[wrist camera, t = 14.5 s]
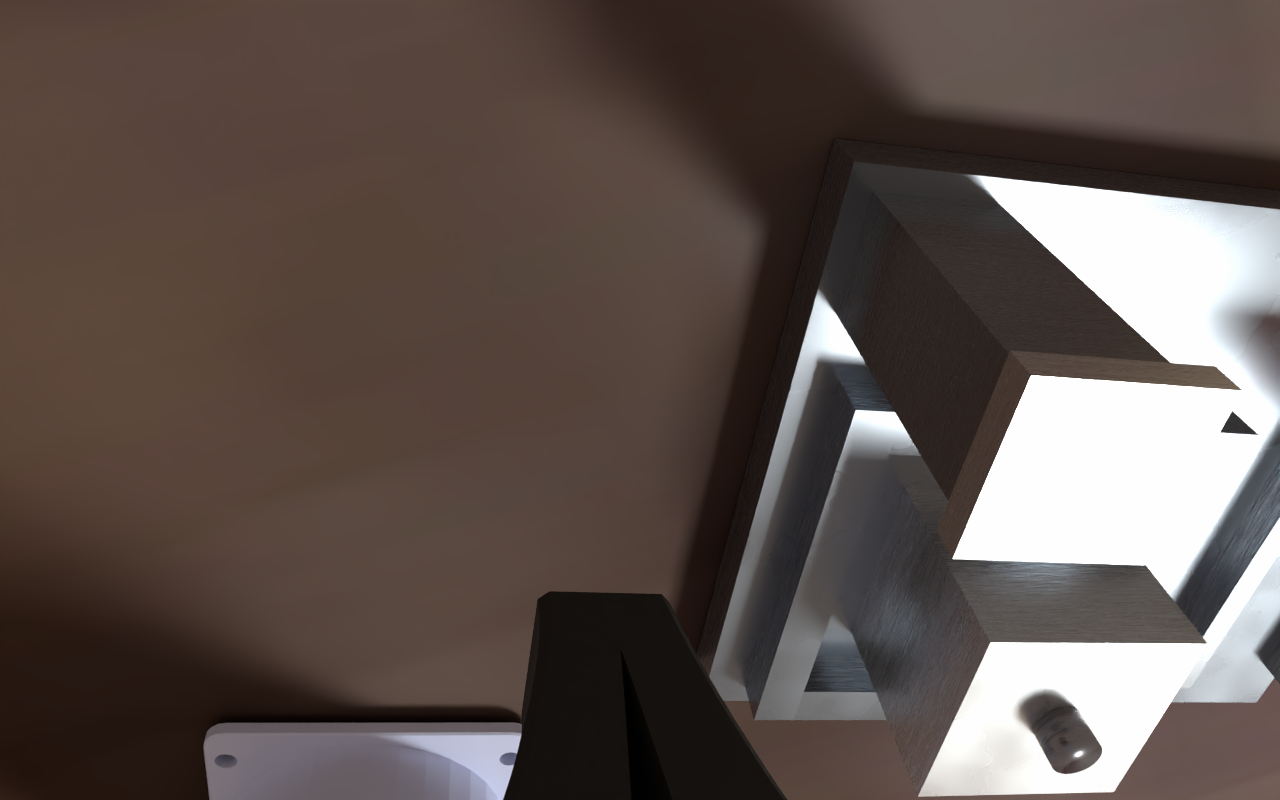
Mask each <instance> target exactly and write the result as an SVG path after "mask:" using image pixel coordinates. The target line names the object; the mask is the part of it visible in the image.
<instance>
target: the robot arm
mask: <svg viewBox="0 0 1280 800" xmlns="http://www.w3.org/2000/svg"><path fill="white" fill-rule="evenodd" d="M203 748H204V757H205V765H206V774H207V782H208V791H209V800H787V799H786V797H785V796H784V794H783V793H782V791H781V790H780V788H779V787H778V785H777V784H776V783H775V781H774V780H773V778H772V777H771V775H770V774H769V772H768V771H767V769H766V768H765V766H764V764H763V763H762V761H761V760H760V758H759V757H758V755H757V754H756V752H755V750H754V749H753V747H752V746H751V744H750V743H749V741H748V740H747V738H746V737H745V735H744V733H743V732H742V730H741V729H740V727H739V726H738V724H737V723H736V721H735V719H734V718H733V716H732V714H731V713H730V711H729V709H728V708H727V706H726V705H725V703H724V701H723V700H722V698H721V696H720V694H719V693H718V691H717V689H716V688H715V686H714V684H713V682H712V681H711V679H710V677H709V676H708V674H707V672H706V670H705V669H704V667H703V665H702V663H701V661H700V660H699V658H698V656H697V654H696V652H695V651H694V649H693V647H692V645H691V643H690V641H689V640H688V638H687V636H686V634H685V632H684V630H683V628H682V626H681V624H680V623H679V621H678V619H677V617H676V615H675V613H674V611H673V609H672V607H671V605H670V603H669V602H668V601H667V599H666V598H665V597H664V596H663V595H662V594H633V593H591V592H548V593H547V594H545V595H543V596H542V597H540V598H539V599H538V601H537V608H536V615H535V622H534V629H533V637H532V644H531V651H530V658H529V665H528V672H527V679H526V686H525V694H524V701H523V708H522V724H520V723H513V722H433V723H221V724H217V725H215V726H213V727H211V728H210V729H209V730H208V731H207V734H206V738H205V741H204V746H203Z"/></svg>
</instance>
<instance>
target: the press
mask: <svg viewBox="0 0 1280 800" xmlns="http://www.w3.org/2000/svg"><path fill="white" fill-rule="evenodd" d="M905 488H929V489H941V490H942V491H943V493H944V495H945V496H946V498H947V500H948V503H947V506H946V508H945V511H944V513H943V515H942V518H941V520H940V523H939V525H938V528H937V532H938V534H939V536H940V538H941V539H942V541H943V543H944V545H945V546H946V548H947V550H948V552H949V554H950V555H951V557H952V559H972V560H1002V561H1033V562H1063V563H1094V564H1124V565H1144V564H1145V565H1146V566H1147V567H1148V569H1149V570H1150V571H1151V572H1152V574H1153V575H1154V576H1155V577H1156V579H1157V580H1158V581H1159V583H1160V584H1161V585H1162V586H1163V588H1164V589H1165V590H1166V591H1167V593H1168V594H1169V595H1170V596H1171V598H1172V599H1173V600H1174V602H1175V603H1176V604H1177V605H1178V607H1179V608H1180V609H1181V610H1182V612H1183V613H1184V614H1185V615H1186V617H1187V618H1188V619H1189V621H1190V622H1191V623H1192V624H1193V626H1194V627H1195V628H1196V629H1197V631H1198V632H1199V633H1200V634H1201V636H1202V637H1203V638H1204V640H1205V641H1206V642H1207V643H1208V645H1207V646H1206V648H1205V649H1204V651H1203V652H1202V654H1201V656H1200V657H1199V659H1198V660H1197V662H1196V663H1195V665H1194V667H1193V668H1192V670H1191V671H1190V673H1189V674H1188V676H1187V678H1186V679H1185V681H1184V682H1183V684H1182V685H1181V687H1180V689H1179V690H1178V692H1177V693H1176V695H1175V696H1174V698H1173V700H1172V701H1171V702H1257V701H1258V700H1259V698H1260V697H1261V695H1262V694H1263V693H1264V691H1265V690H1266V688H1267V687H1268V686H1269V684H1270V683H1271V681H1272V680H1273V679H1274V677H1275V679H1276V680H1277V681H1278V682H1279V684H1280V191H1279V190H1271V189H1262V188H1254V187H1245V186H1237V185H1228V184H1220V183H1211V182H1203V181H1194V180H1185V179H1177V178H1168V177H1160V176H1151V175H1143V174H1134V173H1126V172H1117V171H1109V170H1100V169H1092V168H1083V167H1075V166H1066V165H1058V164H1049V163H1041V162H1032V161H1024V160H1015V159H1007V158H998V157H990V156H981V155H973V154H964V153H956V152H947V151H939V150H930V149H921V148H913V147H904V146H896V145H887V144H879V143H870V142H862V141H853V140H845V139H836V138H834V142H833V145H832V149H831V153H830V157H829V160H828V164H827V168H826V172H825V175H824V179H823V183H822V187H821V190H820V194H819V198H818V202H817V205H816V209H815V213H814V217H813V220H812V224H811V228H810V232H809V235H808V239H807V243H806V246H805V250H804V254H803V258H802V261H801V265H800V269H799V273H798V276H797V280H796V284H795V288H794V291H793V295H792V299H791V303H790V306H789V310H788V314H787V318H786V321H785V325H784V329H783V333H782V336H781V340H780V344H779V348H778V351H777V355H776V359H775V363H774V366H773V370H772V374H771V378H770V381H769V385H768V389H767V393H766V396H765V400H764V404H763V408H762V411H761V415H760V419H759V423H758V426H757V430H756V434H755V437H754V441H753V445H752V449H751V452H750V456H749V460H748V464H747V467H746V471H745V475H744V479H743V482H742V486H741V490H740V494H739V497H738V501H737V505H736V509H735V512H734V516H733V520H732V524H731V527H730V531H729V535H728V539H727V542H726V546H725V550H724V554H723V557H722V561H721V565H720V569H719V572H718V576H717V580H716V584H715V587H714V591H713V595H712V599H711V602H710V606H709V610H708V613H707V617H706V621H705V625H704V628H703V632H702V636H701V640H700V643H699V647H698V651H697V656H698V658H699V660H700V661H701V663H702V665H703V667H704V669H705V670H706V672H707V674H708V676H709V677H710V679H711V681H712V682H713V684H714V686H715V688H716V689H717V691H718V693H719V694H720V696H721V698H722V700H723V701H749V703H750V706H751V710H752V714H753V717H754V720H887V719H886V717H885V714H884V712H883V709H882V707H881V704H880V702H879V699H878V697H877V694H876V692H875V689H874V687H873V685H872V682H871V680H870V677H869V675H868V672H867V670H866V667H865V665H864V662H863V660H862V657H861V655H860V652H859V650H858V648H857V645H856V643H855V640H854V638H853V635H852V632H853V629H854V626H855V624H856V621H857V618H858V615H859V613H860V610H861V607H862V604H863V602H864V599H865V596H866V593H867V591H868V588H869V585H870V582H871V580H872V577H873V574H874V571H875V569H876V566H877V563H878V560H879V558H880V555H881V552H882V550H883V547H884V544H885V541H886V539H887V536H888V533H889V530H890V528H891V525H892V522H893V519H894V517H895V514H896V511H897V508H898V506H899V503H900V500H901V497H902V495H903V492H904V489H905Z"/></svg>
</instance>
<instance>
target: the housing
mask: <svg viewBox="0 0 1280 800" xmlns="http://www.w3.org/2000/svg"><path fill="white" fill-rule="evenodd" d="M947 503H948V500H947V498H946V496H945V495H944V493H943V491H942V490H941V489H929V488H905V489H904V492H903V495H902V497H901V500H900V503H899V506H898V508H897V511H896V514H895V517H894V519H893V522H892V525H891V528H890V530H889V533H888V536H887V539H886V541H885V544H884V547H883V550H882V552H881V555H880V558H879V560H878V563H877V566H876V569H875V571H874V574H873V577H872V580H871V582H870V585H869V588H868V591H867V593H866V596H865V599H864V602H863V604H862V607H861V610H860V613H859V615H858V618H857V621H856V624H855V626H854V629H853V632H852V635H853V638H854V640H855V643H856V645H857V648H858V650H859V652H860V655H861V657H862V660H863V662H864V665H865V667H866V670H867V672H868V675H869V677H870V680H871V682H872V685H873V687H874V689H875V692H876V694H877V697H878V699H879V702H880V704H881V707H882V709H883V712H884V714H885V717H886V719H887V722H888V724H889V726H890V729H891V731H892V734H893V736H894V739H895V741H896V744H897V746H898V749H899V751H900V754H901V756H902V759H903V761H904V763H905V766H906V768H907V771H908V773H909V776H910V778H911V781H912V783H913V786H914V788H915V791H916V793H917V796H918V797H919V796H961V795H1003V794H1045V793H1087V792H1114V791H1115V789H1116V787H1117V786H1118V784H1119V783H1120V781H1121V780H1122V778H1123V776H1124V775H1125V773H1126V772H1127V770H1128V769H1129V767H1130V765H1131V764H1132V762H1133V761H1134V759H1135V758H1136V756H1137V754H1138V753H1139V751H1140V750H1141V748H1142V747H1143V745H1144V743H1145V742H1146V740H1147V739H1148V737H1149V736H1150V734H1151V732H1152V731H1153V729H1154V728H1155V726H1156V725H1157V723H1158V721H1159V720H1160V718H1161V717H1162V715H1163V714H1164V712H1165V711H1166V709H1167V707H1168V706H1169V704H1170V703H1171V701H1172V700H1173V698H1174V696H1175V695H1176V693H1177V692H1178V690H1179V689H1180V687H1181V685H1182V684H1183V682H1184V681H1185V679H1186V678H1187V676H1188V674H1189V673H1190V671H1191V670H1192V668H1193V667H1194V665H1195V663H1196V662H1197V660H1198V659H1199V657H1200V656H1201V654H1202V652H1203V651H1204V649H1205V648H1206V646H1207V645H1208V643H1207V642H1206V641H1205V640H1204V638H1203V637H1202V636H1201V634H1200V633H1199V632H1198V631H1197V629H1196V628H1195V627H1194V626H1193V624H1192V623H1191V622H1190V621H1189V619H1188V618H1187V617H1186V615H1185V614H1184V613H1183V612H1182V610H1181V609H1180V608H1179V607H1178V605H1177V604H1176V603H1175V602H1174V600H1173V599H1172V598H1171V596H1170V595H1169V594H1168V593H1167V591H1166V590H1165V589H1164V588H1163V586H1162V585H1161V584H1160V583H1159V581H1158V580H1157V579H1156V577H1155V576H1154V575H1153V574H1152V572H1151V571H1150V570H1149V569H1148V567H1147V566H1146V565H1145V564H1144V565H1124V564H1094V563H1063V562H1033V561H1002V560H972V559H952V557H951V555H950V554H949V552H948V550H947V548H946V546H945V545H944V543H943V541H942V539H941V538H940V536H939V534H938V532H937V528H938V525H939V523H940V520H941V518H942V515H943V513H944V511H945V508H946V506H947Z"/></svg>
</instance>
